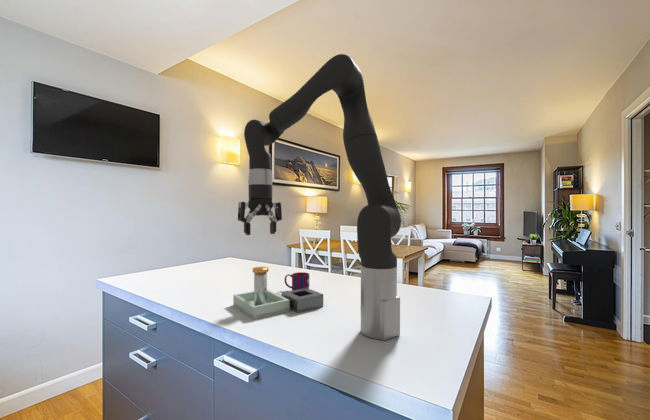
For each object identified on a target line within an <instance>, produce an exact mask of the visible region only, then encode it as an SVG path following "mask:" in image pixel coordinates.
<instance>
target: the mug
mask: <svg viewBox="0 0 650 420" xmlns="http://www.w3.org/2000/svg"><path fill="white" fill-rule="evenodd" d="M288 276H289V277H290V278H291V285H289V284H288V283H287V277H288ZM284 284H285V285H286V286H287V288H290V289H291V291H293V290H298V289H303V288H308V289H310V273H308V272H304V271H303V272H302V271H301V272H293V273H292V274H290V273H288V274H286V275H285V276H284Z"/></svg>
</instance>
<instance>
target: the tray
mask: <svg viewBox="0 0 650 420" xmlns="http://www.w3.org/2000/svg"><path fill="white" fill-rule="evenodd" d="M232 301H233V303H232V305H233V306H234V307H236V308H237V309H239V310H240V312H241V311H242V313H244V314H245V315H247V316H248V317H250V318H251V319H252V320H256V319H261V318H265V317H268V316H274V315H277V314H282V313H286V312H290V311H291V309H290V300H289V299H286V298H284V297H282V296H281V294H280V295H279V294H278V293H275V292H273V291H272V290H269V289H267V304H263V305H258V306H255V305H254V290H253V291H247V292H243V293H237V294H233V300H232Z"/></svg>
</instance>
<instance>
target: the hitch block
mask: <svg viewBox="0 0 650 420" xmlns="http://www.w3.org/2000/svg"><path fill="white" fill-rule="evenodd" d="M280 296H282V297H284V298H286V299H289V300H290V311H293V312H295V313H297V314H298V313H302V312H307V311H311V310H314V309H315V310H316V309H319V308H323V307H324V293H321V292H319V291H315V290H314V289H313V290H312V289H310V288H309V289H308V288H303V289H298V290H293V291H292V290H287V291H282V292H281V294H280Z"/></svg>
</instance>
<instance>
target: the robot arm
mask: <svg viewBox="0 0 650 420" xmlns="http://www.w3.org/2000/svg"><path fill="white" fill-rule="evenodd" d="M330 91H333V92H335V94H336V95H337V97H338V100H339V103H340V106H341V109H342V112H343V127H342V128H343V130H342V139H343V146H344V150H345V155H346V159H347V161H348V164H349V166H350V168H351V170H352V173H354V176H355V177H356V179H357V180H358V182H359V183H360V185H361V187H362V188H363V191H364V193H365V198H366V201H367V205H365V206H364V207H362V209H360V211H359V213H358V216H357V221H356V235H357V236H356V238H357V239H356V240H357V253H358V256H359V258H360V332H361V334H362V335H363V336H365V337H367V338H370V339H376V340H381V341H383V342H384V341H385V342H386V341H388V340H390V339H392V338H395V337H399V336H400V335H401V297H400V296H398V257H397V255H396V254H395V253H394V251H393V249H392V237H394V236H396V235H397V234H398V233H399V231H400V229H401V226H402V218H401V217H402V216H401V213H400V210H399V207H398V206H397V202H396V200H395V198H394V195H393V192H392V189H391V187H390V183H389V180H388V175H387V170H386V166H385V163H384V162H385V161H384V159H383V156H382V150H381V146H380V143H379V138H378V135H377V131H376V129H375V125H374V122H373V119H372V116H371V113H370V110H369V106H368V103H367V97H366V90H365V83H364V76H363V73H362V71H361V70H360V68H359V66H358V65H357V64H356V62H355V61H354V60H353V59H352V58H351V57H350V56H349V55H347V54H345V53H340V54H339V53H338V54H336V55H334V56H333V57H331V58H330V59H329V60H327V61H326V62H325V63H324V64H323V65H322V66H321V67H320V68H319V69H318V70H317V71H316V72H315V73H314V74H313V75H312V76H311V77H310V78H309V79H308V80H307V82H305V83H304V85H302V86H301V87H300V88H299V89H298V90H297V91H296V92H295V93H294V94H292V95H291V96H290V97H289V98H288V99H286V100H285V101H283V102H282V103H281V104H279V105H278V106H277V107H275V108H274V109H272V110H271V111H270V112H269V115H268V119H269V122H266V123H265V122H263V121H261V120H259V119H251V120H249V121H248V122H247V123H246V124H245V127H244V131H243V137H244V141H245V145H246V146H245V147H246V149H247V154H248V157H249V162H248V163H249V164H248V165H249V166H248V171H249V172H248V179H247V180H248V181H247V183H248V201H247V202H245V201H239V202H238V206H237V207H238V209H237V220H238V222H241V223H243V233H244V234H245V236H251V223H250V222H251V221H252V220H253V219H254V218H255V216H257V217H259V216H266V217H267V218H268V220H269V221H270V222H269V234H270V235H275V233H276V232H277V222H279V221H282V220H283V215H282V203H281V202H280V201H279V202H273V174H272V173H273V171H272V167H273V166H272V155H271V153H270V152H268V151H267V150H266V147H265V146H270V145H272V144H274V143H275V142H276V141H278V140H279V138H280V137H282V135H283V133H284V132H285V131H286V130H288V129H289V128H291V127H293V125H296V123H298V122H300V121H301V120H302V119H303V118H304V117H305V116H306V114H307V113H308V111H310V110H311V109H310V108H312V105H313V104H314V103H315V102H316V101H317V100H318V99H319V98H320V97H321V96H323V95H324V94H327V93H328V92H330ZM247 207H248V209H249V211H248V212H247V213H246V209H247ZM272 208H273V209H274V212H273V210H272Z"/></svg>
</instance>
